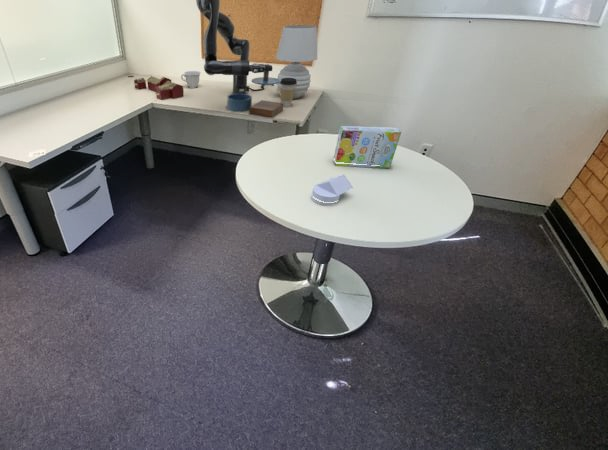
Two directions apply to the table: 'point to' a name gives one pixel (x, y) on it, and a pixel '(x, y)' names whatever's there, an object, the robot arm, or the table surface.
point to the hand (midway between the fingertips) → (271, 68)
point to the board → (266, 108)
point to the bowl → (239, 102)
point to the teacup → (191, 78)
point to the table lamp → (297, 55)
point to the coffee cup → (287, 91)
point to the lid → (265, 79)
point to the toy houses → (161, 87)
